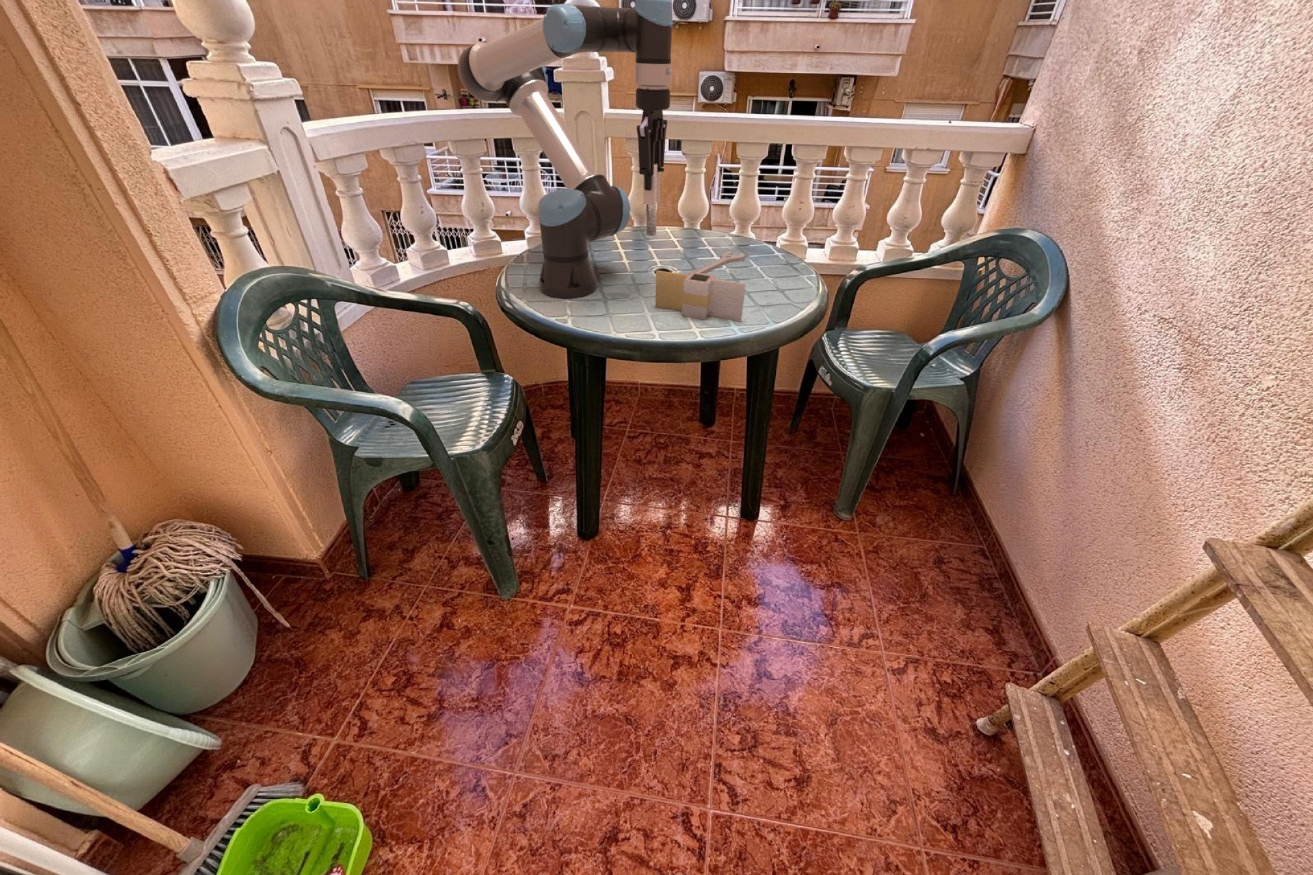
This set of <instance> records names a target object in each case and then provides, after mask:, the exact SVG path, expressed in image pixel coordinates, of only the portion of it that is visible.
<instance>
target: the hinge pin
mask: <svg viewBox="0 0 1313 875" xmlns="http://www.w3.org/2000/svg"><path fill="white" fill-rule="evenodd" d="M653 175H655V205H648V204H645V205H646V209H645V210H646V211H645V212H646V216H645V217H646V220H645V221H646V222H645V232H646V234H645V235H646V236H650V237H653V236H656V235H657V211H658V210H657V207H658V206H657V204H658V202H657V163H654V174H653Z"/></svg>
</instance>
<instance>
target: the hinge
mask: <svg viewBox="0 0 1313 875" xmlns="http://www.w3.org/2000/svg"><path fill="white" fill-rule="evenodd" d="M716 277H717V275H715V274H709V273H705V274H703V273H697V272H691V273H690V274H689V273H688V274H683V273H676V272H670V271H664V270H656V272H655V308H661V309H666V310H672V311H678V312H681V314H682V315H681V316H682V317H687V318H692V319H698V320H703V321H706V320H707V318H708V317H713V318H718V319H723V320H730V321H734V322H735V321H736V322H741V321H742V318H743V310H744V301H745V296H746V294H745V292H746V286H747V284H746V283H742V282H736V281H729V280H722V279H717V278H716Z"/></svg>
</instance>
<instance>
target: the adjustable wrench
mask: <svg viewBox="0 0 1313 875" xmlns="http://www.w3.org/2000/svg"><path fill="white" fill-rule="evenodd" d="M720 254H721V255H720V258H718V259H717V260H713V261H711V262H710V263H707V264H704V265H703V266H699V267H697V268H695V269H693V270H691V271H689V272H688V275H689V274H690V273H691V272H697V273H703V274H708V273H709V272H711V271H714V270H716V269H718V268H720V267H722V266H725V265H727V264H730V263H731V262H732V263H738V262H743V261H744V260H745V258H746V257H745V256H746V254H745V253H744V252H741V253H740V254H737V255H735V254H733V250H732V251H726V252H723V253H720ZM732 263H731V264H732ZM724 264H725V265H724Z"/></svg>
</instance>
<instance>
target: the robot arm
mask: <svg viewBox="0 0 1313 875" xmlns="http://www.w3.org/2000/svg"><path fill="white" fill-rule="evenodd" d="M545 12H546V13H545V14H544V15H543V17H542V18H540V19H538V20H537V21H535V22H532V23H529V24H528V25H526V26H524V27H521V28H520V29H517V30H515V31H513V32H511V33H509V34H507V35H505V36H503V37H500V38H498V39H496V40H494V41H492V42H490V43H487V42H483V41H480V42H477V43H475V44H473V45H470V46H469V47H467V48H465V49H464V50H463V51H462V52H461V54H460V56H459V59H458V61H457V72H458V77H459V79H460V80H459V81H461V84H462V86H463V87H464V88H465V90H466V91H467V92H468V93H469V94H470V95H472V96H473V97H474V98H476V99H478V100H481V101H483V102H484V101H485V102H497V101H498V102H499V101H504V102H505V103H506V105H507V107H508V109H509V110H510V111H511V113H512V114H513V115H515V116H518V117H519V116H520V117H521V118H522V120H523V121H524V123H525V125H526V126H527V128H528V130H529V131H530V132H531V135H532V136H533V137H534V139H535V140H536V142H537V144H538V145H539V147H540V148H541V150H542V151H543V153H544V154H545V157H546V158H547V160H548V161H549V163H550V164H551V166H552V167H553V169H554V171H555V172H556V173H557V175H558V177H559V178H560V179H561V181H562V183H563V185H564V186H565V189H563V190H561V189H560V190H559V189H558V190H554V191H551V192H548V193H547V194H545V195H542V197H540V199H539V201H538V216H537V217H538V222H539V226H540V227H539V228H540V236H541V237H540V238H541V246H542V256H543V262H542V266H541V272H540V277H539V289H540V290H539V291H541V293H542V294H544V295H547V296H549V297H553V298H559V299H561V298H562V299H571V298H572V299H574V298H579V297H584V296H588V295H590V294H592V293H594V292H595V291H596V290H597V287H598V282H597V281H598V280H597V276H596V274H595V271H594V269H593V266H592V265H593V264H592V262H591V260H590V256H589V243H591V242H594V241H597V240H600V239H604V238H607V237H613V236H614V235H615V236H616V235H617V234H618V233H620V232H622V231H624V230H625V229H626V227H627V226H628V225H629V222H630V218H631V203H630V199H629V197H628V195H627V193H626V192H625V191H624V189H622V187H620V186H617V185H611V184H610V183H609V181H608V179H607V178H606V176H605V175H604V174H602V173H599V172H596V171H595V170H594V168H593V166H592V165H591V163H590V162H589V160H588V159H587V157H586V155H585V154H584V153H583V151H582V149H581V147H580V146H579V144H578V143H577V141H576V140H575V138H574V137H573V135H572V132H571V131H570V130H569V128H568V127H567V125H566V124H565V122H564V120H563V118H562V117H561V116H560V114H559V113H558V111H557V109H556V107H555V106H554V105H553V103H552V101H551V99H550V98H549V97H548V93H549V86H548V83H549V80H548V79H549V78H548V77H549V76H548V74H546V72H547V68H546V66H547V65H550V64H552V63H555V62H558V61H560V60H562V59H565V58H567V57H570V56H573V55H576V54H579V53H634V54H635V85H636V86H637V88H636V89H635V108H637V109H639V110H642V115H641V120H640V122H641V123H640V125H636V134H637V142H638V143H637V144H638V147H637V148H638V167H639V170H638V171H639V175H643V179H642V180H643V194H642V195H643V199H642V200H643V201H642V202H643V205H646V204H648V205H655V175H653V174H654V163H657V203H659V202H660V196H661V194H660V192H661V191H660V190H661V172H662V173H664V172H665V168H664V167H665V153H666V151H665V150H666V136H667V134H666V133H667V128H668V120H667V119H664V113H663V111H665V110H669V108H670V107H671V90H670V88H668V87H669V86H671V75H673V73H674V70H673V69H671V67H672V66H671V64H672V57H671V56H672V40H673V39H672V38H673V26H674V22H673V1H672V0H635V4H634V7H613V6H612V7H611V6H609V7H608V6H593V5H592V6H591V5H582V4H581V5H579V4H571V3H566V2H565V3H560V4H552V5H550V6H549V7H548V8H547V9H546V11H545Z"/></svg>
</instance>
